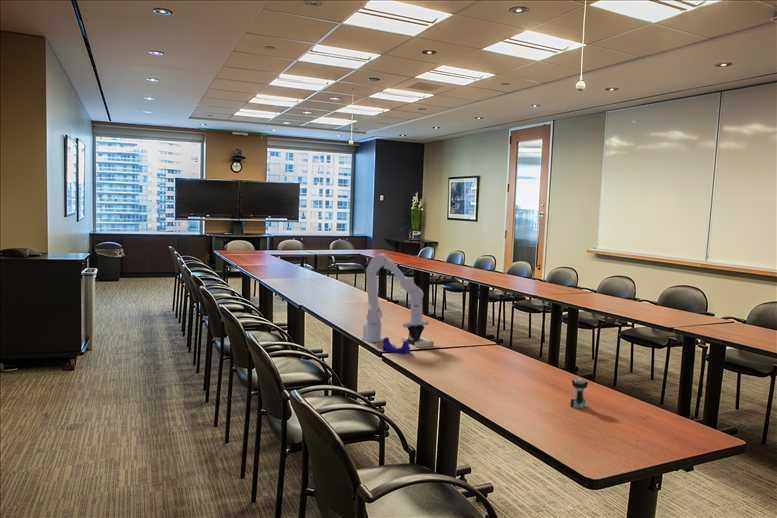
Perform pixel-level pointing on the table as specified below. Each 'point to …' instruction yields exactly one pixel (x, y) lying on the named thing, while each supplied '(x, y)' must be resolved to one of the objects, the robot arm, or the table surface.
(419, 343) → the groove holder
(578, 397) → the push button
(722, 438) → the table surface
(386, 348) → the blue curved piece
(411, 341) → the ink cartridge
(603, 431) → the table surface
